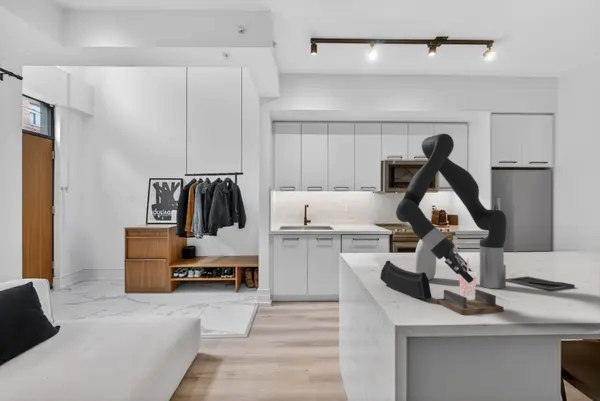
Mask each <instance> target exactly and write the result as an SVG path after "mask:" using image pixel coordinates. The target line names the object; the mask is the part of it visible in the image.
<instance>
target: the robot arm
mask: <svg viewBox="0 0 600 401" xmlns="http://www.w3.org/2000/svg"><path fill="white" fill-rule="evenodd" d="M454 145H455V144H454V140H453V138H452V136H451V135H449V133H439V134H436V135H433V136H429V137H426V138H425V139H423V141H422V142H421V150H422V152H423V154H424V156H425V157H426V159H427V161H426V162H425V163H424V164H423V166H421V167H420V169H418V170H417V172H415V174H414V175H413V177H412V179H411V180H410V182H409V184H408V186H407V188H406V191H405V194H404V196H403V197H402V200H401V201H399V203H398V204H397V208H396V211H395V215H396V216H395V217H396V218H397V219H398V220H399V222H401V223H409V225H410V226H411V230H412V232H413V233H414V235H416V236H417V237H418V238H419V240H420V239H421V240H422V242H423V243H424V244H425V245H426V247H427V248H428V249H429V250H430V251H431V252H432V253H433V254H434V255H435V256H436V259H437V260H441V259H442V258H444V259H445V261H444V263H445V264H446V265H447V266H448V267H449V268H450V269H452V271H453V272H454V273H455V274H456V275H461V276H462V277H463V278H464V279H465V280H466V281H467V282H468V283H470V282H472V281H473V277H472V276H471V275H470V274H469V273H468V272H467V261H466V260H465V259H464V258H463V257H462V256H461V255H460V253H458V252H454V251H453V249H454V248H455V247H456V246H455V244H454V243H453V242H452V241H451V240H450V239H449V238H448V237H447V236H446V235H445V234H444V233H443V232H442V231H441V230H439V229H438V228H437V227H436V225H435V224H433V223H432V222H431V221H430V220H429V219H428V218H427V217H426V215H425V213H424V212H423V211H422V209H421V208H420V207H419V206H420V205H421V204H420V203H421V202H422V200H423V198H424V197H425V195H426V193H427V191H428V189H429V187H430V185H431V183H432V181H433V179H434V178H435V176H436V175H437V173H438V172H439V173H440V174H441V175H442V177H443V178H444V180H445V181H446V182H447V183H448V185H449V186H450V188H451V189H452V191H453V192H454V193H455V194H456V195H457V197H458V198H459V200H460V201H461V202H462V204H463V205H464V206H465V208H466V210H467V211H468V213H469V215H470V217H471V218H472V220H473V222H474V224H475V225H476V226H477V228H479V229H480V230H483V231H488V234H487V236H486V237H484V238H481V239H479V286H480V287H484V288H488V289H503V288H506V286H507V285H506V284H507V282H506V279H507V275H506V274H507V269H506V268H507V267H506V264H504V263H505V262H504V260H505V259H504V256H505V254H504V250H505V249H504V245H505V241H506V236H507V235H506V234H507V217H506V214H505V212H504V211H503V210H500V209H487V208H486V207H485V206H484V205H483V204H482V202H481V200H480V198H479V196H480V192H479V191H480V188H479V184H478V182H477V181H476V180H475V179H474V177H473V175H472V174H471V173H470V172H469V171H468V170H467V169H465V168H463V167H462V166H460V165H458V164H456V163H455V162H453V161H452V160H451V159H450V158H449V157H450V155H451V154H452V152H453V149H454V147H455V146H454ZM434 225H435V226H434ZM469 271H472V272H474V271H473V270H472V269H471V268H470V267H469Z"/></svg>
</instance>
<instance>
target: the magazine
mask: <svg viewBox="0 0 600 401" xmlns="http://www.w3.org/2000/svg"><path fill="white" fill-rule="evenodd" d="M379 279H380V280H381V281H383V283H384V284H385V285H386V287H389V288H391V289H393V290H394V291H396V292H399V293H401V294H403V295H406V296H408V295H409V297H413V298H419V299H423V300H430V299H432V292H431V291H432V290H431V286H430V280H428V278H427V276H426V273H424V272H422V273H416V272H415V271H414V272H413V271H410V270H409V271H408V270H405V269H403V268H401V267H399V266H397V265H395V264H394V263H392V262H391V260H386V261H385V264H384V265H383V267H382V269H381V272H380V278H379Z"/></svg>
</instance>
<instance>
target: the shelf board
mask: <svg viewBox="0 0 600 401" xmlns="http://www.w3.org/2000/svg"><path fill="white" fill-rule="evenodd" d="M496 296H497V295H494V294H492V293H489V292H486V291H483V290H480V289H478V288H476V289H475V299H474V300H467V298H466V297H464V296H461V295H460V293H459V294H458V293H456V292H454V291H451V290H448V289H443V298H437V299H436V303H437V304H438V305H441V306H442V305H443V306H442V307H444V306H445V308H446V307H447V308H446V309H448V308H449V310H451V311H453V312H455V313H456V314H459V315H460V316H461V315H464V316H465V315H476V314H477V315H478V314H489V313H500V312H504V306H502V305H499V304H497V303H496V301H497V300H496V298H497V297H496Z"/></svg>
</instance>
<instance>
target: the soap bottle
mask: <svg viewBox="0 0 600 401" xmlns="http://www.w3.org/2000/svg"><path fill="white" fill-rule="evenodd" d="M433 225H434V226H435V227H436V225H435V224H433ZM422 272H424V273H426V276H427V278H428V280H429V281H430V280H433V279H434V278H435V275H436V272H437V257H436V256H435V255H434V254H433V253H432V252H431V251H430V250H429V249H428V248H427V247H426V245H425V244H424V243H423V242H422V240H421V239H420V238H419V240H418V242H417V245H416V248H415V253H414V273H422Z"/></svg>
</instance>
